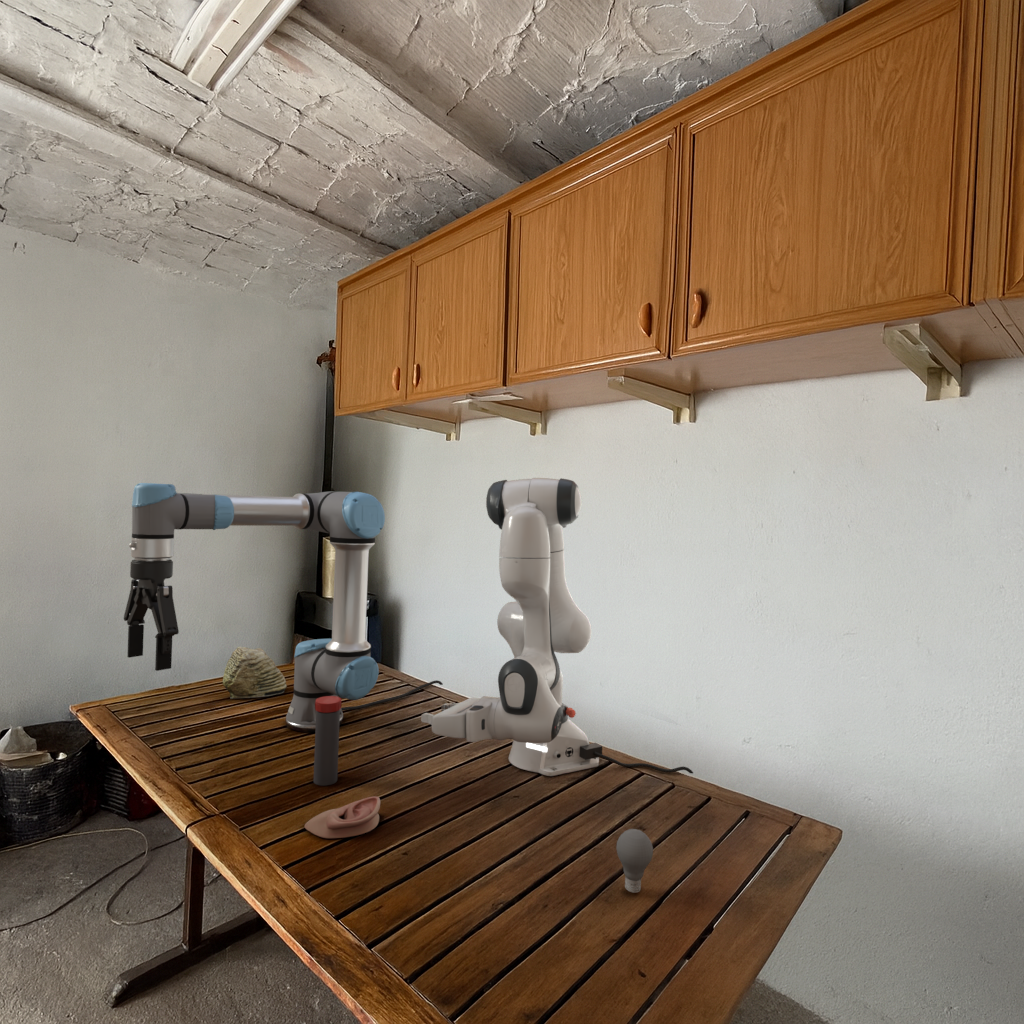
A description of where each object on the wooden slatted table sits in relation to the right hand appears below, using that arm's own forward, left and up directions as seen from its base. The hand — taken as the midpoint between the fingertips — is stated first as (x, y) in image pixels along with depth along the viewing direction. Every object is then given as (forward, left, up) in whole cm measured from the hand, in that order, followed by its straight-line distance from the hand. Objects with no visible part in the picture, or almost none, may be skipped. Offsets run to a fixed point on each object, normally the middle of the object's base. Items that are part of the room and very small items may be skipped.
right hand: (433, 712), depth 143 cm
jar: (+23, -5, -16) cm, 28 cm away
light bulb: (-25, +48, -16) cm, 56 cm away
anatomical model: (+20, +15, -16) cm, 30 cm away
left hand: (+58, -5, +12) cm, 60 cm away
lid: (+23, -5, +2) cm, 23 cm away
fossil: (+42, -71, -16) cm, 84 cm away
